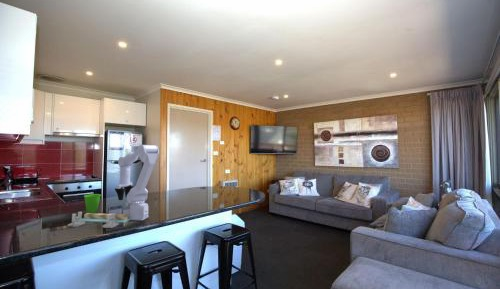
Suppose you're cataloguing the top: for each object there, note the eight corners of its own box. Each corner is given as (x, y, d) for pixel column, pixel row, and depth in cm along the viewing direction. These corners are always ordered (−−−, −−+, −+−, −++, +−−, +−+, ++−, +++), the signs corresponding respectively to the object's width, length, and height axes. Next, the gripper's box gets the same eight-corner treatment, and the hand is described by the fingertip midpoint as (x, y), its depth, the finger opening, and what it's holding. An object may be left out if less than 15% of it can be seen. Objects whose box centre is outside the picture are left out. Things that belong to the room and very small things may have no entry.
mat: (133, 218, 143) (133, 216, 143) (124, 223, 133) (124, 221, 133) (89, 216, 144) (89, 215, 144) (77, 221, 134) (77, 220, 134)
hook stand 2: (118, 224, 130) (119, 212, 130) (111, 228, 124) (112, 215, 124) (109, 224, 130) (109, 212, 131) (102, 227, 124) (102, 215, 125)
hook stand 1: (85, 223, 131) (85, 211, 131) (77, 226, 125) (77, 214, 125) (76, 223, 131) (76, 211, 131) (67, 226, 125) (68, 214, 125)
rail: (127, 218, 138) (128, 214, 138) (125, 220, 136) (125, 215, 136) (87, 217, 140) (87, 212, 140) (84, 218, 138) (84, 214, 138)
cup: (92, 215, 146) (92, 197, 146) (79, 214, 148) (79, 196, 148) (103, 212, 155) (104, 194, 155) (91, 211, 157) (92, 193, 157)
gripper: (125, 175, 159) (124, 196, 158) (111, 177, 144) (110, 201, 144) (135, 175, 158) (135, 196, 158) (123, 177, 144) (122, 201, 143)
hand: (124, 198), depth 151 cm, fingers open, 7 cm apart
